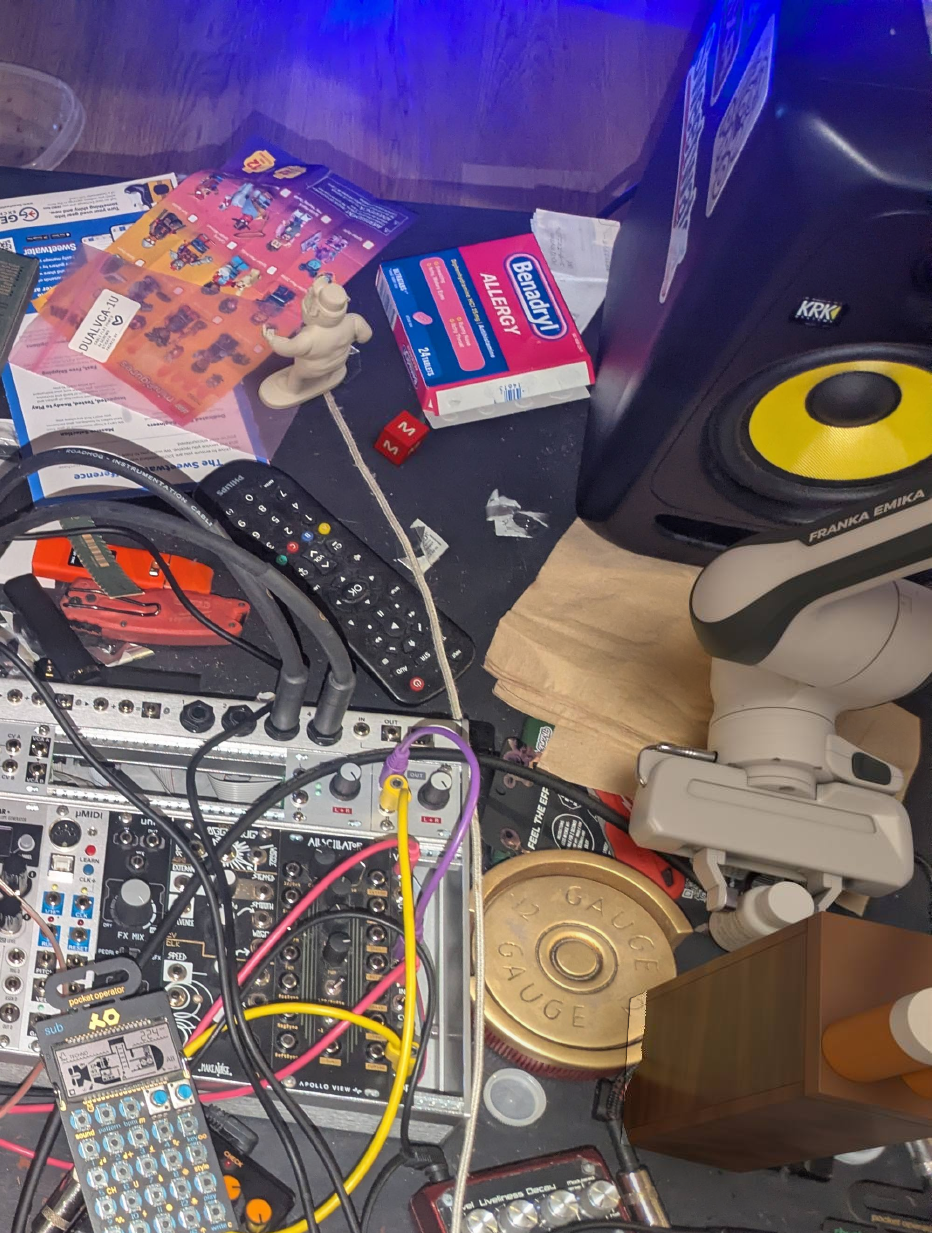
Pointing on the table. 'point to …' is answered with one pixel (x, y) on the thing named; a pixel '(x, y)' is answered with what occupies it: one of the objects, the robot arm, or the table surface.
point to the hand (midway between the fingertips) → (765, 920)
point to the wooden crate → (742, 1068)
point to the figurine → (314, 347)
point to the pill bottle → (761, 914)
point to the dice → (401, 438)
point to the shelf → (861, 1003)
